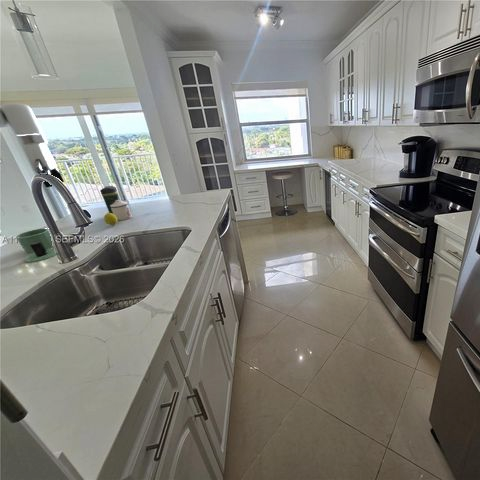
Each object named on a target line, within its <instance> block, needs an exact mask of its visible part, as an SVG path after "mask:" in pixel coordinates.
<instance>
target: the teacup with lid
mask: <svg viewBox="0 0 480 480" xmlns="http://www.w3.org/2000/svg"><path fill="white" fill-rule="evenodd" d="M110 208H111V209H112V211H113V214H114V215H115V216H116V218H117V221H125V220H129V219H131V218H132V217H133V214H132V212H131V208H130V206H129V203H128V201H122V200H121V201H119V200H115V202H114V203H113V204H112V205H110Z"/></svg>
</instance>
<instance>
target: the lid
mask: <svg viewBox="0 0 480 480" xmlns="http://www.w3.org/2000/svg"><path fill="white" fill-rule="evenodd" d="M29 245H30V246H31V248H32V250H33V251H34V253H31V254H30V255H28V256H26V257H25V258H24V259H23V261H24V262H25V263H35V262H41V261H45V260H48V259H50V258H52V257H54V256H55V257H56V256H57V255H56V253H55V251H54V249H55V248H50V249H47V250H45V248H44V246H43V244H42V243H41V241H37V242H33V243H31V244H29Z"/></svg>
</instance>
